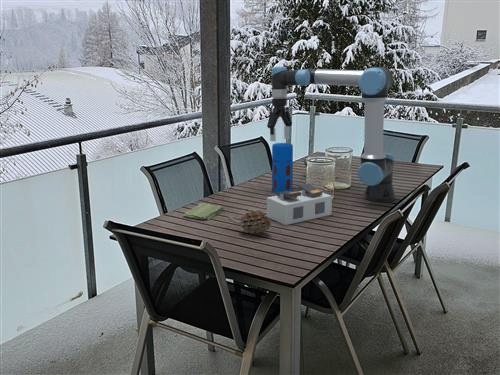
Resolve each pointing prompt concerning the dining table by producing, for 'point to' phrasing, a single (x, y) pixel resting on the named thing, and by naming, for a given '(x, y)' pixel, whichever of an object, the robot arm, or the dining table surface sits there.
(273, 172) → the thermos
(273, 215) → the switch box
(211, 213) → the washcloth
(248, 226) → the pine cone
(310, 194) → the inner rocker
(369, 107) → the robot arm
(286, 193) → the outer rocker
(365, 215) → the dining table surface
